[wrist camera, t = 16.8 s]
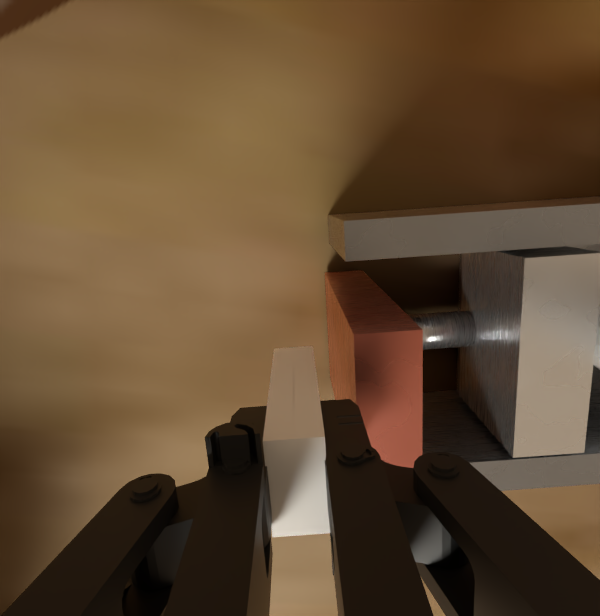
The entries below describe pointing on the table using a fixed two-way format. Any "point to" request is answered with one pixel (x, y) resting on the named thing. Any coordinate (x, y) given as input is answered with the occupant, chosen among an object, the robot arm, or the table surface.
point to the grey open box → (456, 240)
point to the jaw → (475, 351)
